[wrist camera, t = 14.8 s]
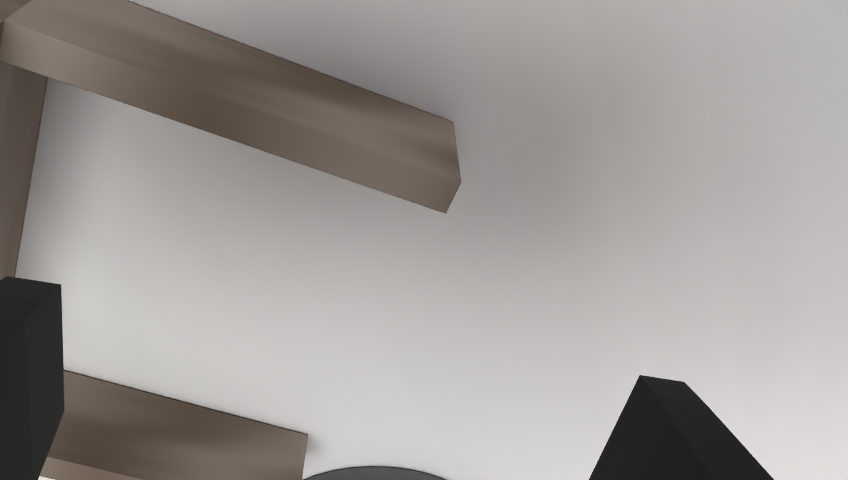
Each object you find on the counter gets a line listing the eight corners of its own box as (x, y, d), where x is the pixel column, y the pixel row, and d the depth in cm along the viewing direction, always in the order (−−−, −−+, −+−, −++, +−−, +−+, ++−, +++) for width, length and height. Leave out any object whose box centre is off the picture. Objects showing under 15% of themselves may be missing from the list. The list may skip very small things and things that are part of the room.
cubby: (453, 122, 19) (471, 264, 14) (299, 452, 25) (273, 637, 20) (14, -42, 17) (-155, 57, 12) (-39, 364, 22) (-167, 547, 17)
